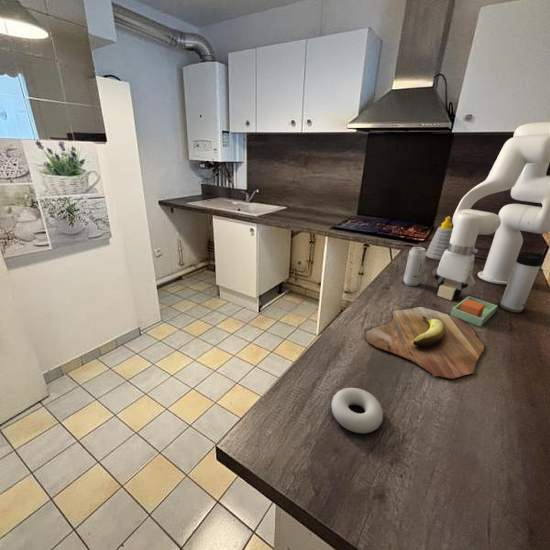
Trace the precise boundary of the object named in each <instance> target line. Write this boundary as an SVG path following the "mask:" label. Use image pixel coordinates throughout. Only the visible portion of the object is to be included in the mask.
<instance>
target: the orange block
mask: <svg viewBox="0 0 550 550" xmlns="http://www.w3.org/2000/svg"><path fill="white" fill-rule="evenodd" d="M484 307H485V305H484V304H481V303H478V302H475V301H472V300H469V299H468V300H466V301H465V302H464V303H462V305H461V308H460V311H463V312H466V313H469V314H471V315H474V316H477V317H480V316H482V313H483V310H484Z"/></svg>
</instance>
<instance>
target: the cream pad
mask: <svg viewBox="0 0 550 550" xmlns="http://www.w3.org/2000/svg"><path fill="white" fill-rule="evenodd" d="M455 289H457V284H453V283H450V282H445V281H444V284H442V285H440V286H439V290H438V293H436V296H437V297H440V298H443V299H447V300H449V301H452V300H454V299H453V296H454V293H455Z"/></svg>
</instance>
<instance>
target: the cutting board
mask: <svg viewBox="0 0 550 550" xmlns="http://www.w3.org/2000/svg"><path fill="white" fill-rule="evenodd" d="M392 317H393V318H392V319H391V320H389V321H387V322H385V323H383V324H380V325H378V326H375V327H371V328H369V329H367V330H366V332H365V339H366V341H367V342H368V343H369V344H371V345H372V346H374V347H376V348H377V349H382V350H384V351H387V352H390V353H392V354H395V355H398V356H400V357H402V358H404V359H407V360H409V361H411V362H413V363H415V364H416V365H418V366H419V367H421V368H422V369H424V370H426V371H428V372H429V373H430V374H431V375H432V376H433V378H435V377H442V378H447V379H452V380H453V379H456V378H460V377H462V376H463V377H464V376H466V375H470V374H475V368H476V364H477V362H478V360H479V358H480V356H481V355H482V354H483V352H484V349H485V344H484V343H483V342H482V340H480V338H479V337H478V336H477V334H476V332H475V331H474V329H473V328H472V327H471V326H469V325H468V324H467V323H466V321H464V320H462V319H459V318H457V317H454V316H451V315H449V314H447V313H443V312H441V311H438V310H435V309H431V308H426V307H423V306H417V307H411V308H406V309H395V310H393V311H392Z"/></svg>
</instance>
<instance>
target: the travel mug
mask: <svg viewBox="0 0 550 550" xmlns="http://www.w3.org/2000/svg"><path fill="white" fill-rule="evenodd" d="M545 257H546V256H545V254H543V253H536V252H519V254H518V257H517V260H516V262H515V265H514V267H513V270H512V273H511V276H510V278H509V281H508V284H507V285H506V287H505V290H504V293H503V295H502V298H501V301H500V302H499V306H500V308H501V309H503V310H505V311H508V312H511V313H522V311H523V310H524V307H525V305H526V302H527V300H528V297H529V295H530V293H531V290H532V287H533V285H534V284H535V283H534V282H535V280H536V278H537V275H538V273H539V270H540V267H541V265H542V262H543V260H544V258H545Z"/></svg>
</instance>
